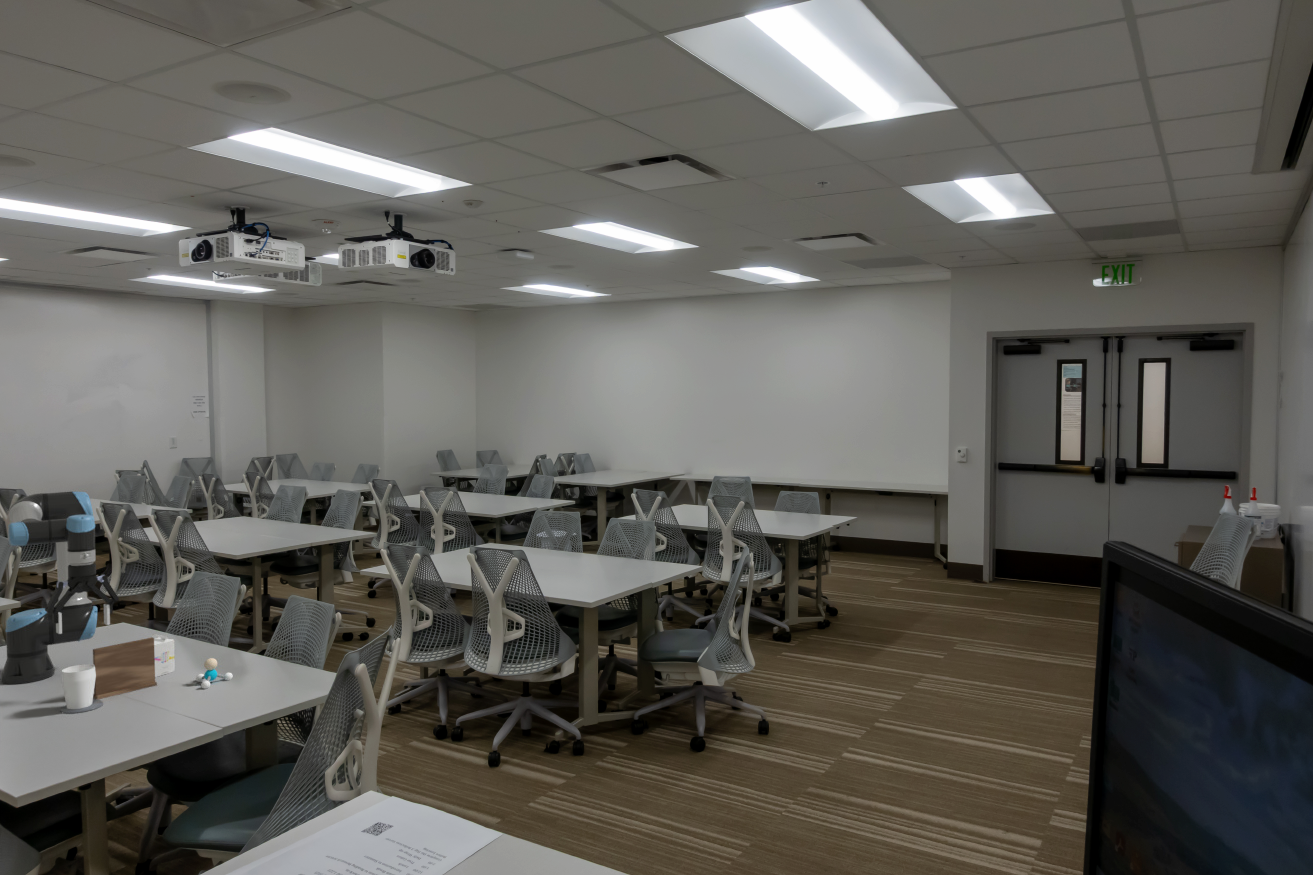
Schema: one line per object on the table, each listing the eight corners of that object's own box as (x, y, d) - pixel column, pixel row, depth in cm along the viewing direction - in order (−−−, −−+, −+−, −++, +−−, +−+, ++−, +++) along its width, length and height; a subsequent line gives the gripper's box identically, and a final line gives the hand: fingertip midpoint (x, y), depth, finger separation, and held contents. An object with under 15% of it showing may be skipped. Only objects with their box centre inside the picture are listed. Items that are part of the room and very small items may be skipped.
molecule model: (186, 684, 295) (186, 658, 295) (221, 675, 305) (220, 650, 304) (203, 690, 288) (203, 664, 288) (238, 681, 298) (238, 656, 297)
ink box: (137, 675, 305) (136, 637, 304) (158, 668, 313) (157, 632, 312) (154, 678, 302) (153, 640, 301) (175, 671, 309) (174, 634, 309)
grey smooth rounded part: (55, 708, 271) (55, 706, 271) (94, 699, 279) (94, 697, 279) (68, 715, 264) (68, 714, 264) (108, 705, 273) (108, 704, 273)
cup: (79, 711, 266) (78, 673, 265) (54, 709, 268) (53, 671, 267) (103, 702, 275) (102, 664, 274) (79, 700, 277) (78, 663, 276)
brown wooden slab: (92, 697, 282) (91, 648, 281) (151, 682, 296) (150, 636, 295) (97, 699, 279) (96, 650, 279) (156, 685, 294) (155, 638, 293)
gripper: (40, 571, 265) (42, 639, 266) (129, 558, 284) (130, 622, 286) (31, 567, 269) (33, 634, 270) (119, 556, 289) (121, 618, 290)
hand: (83, 628), depth 278 cm, fingers open, 13 cm apart
